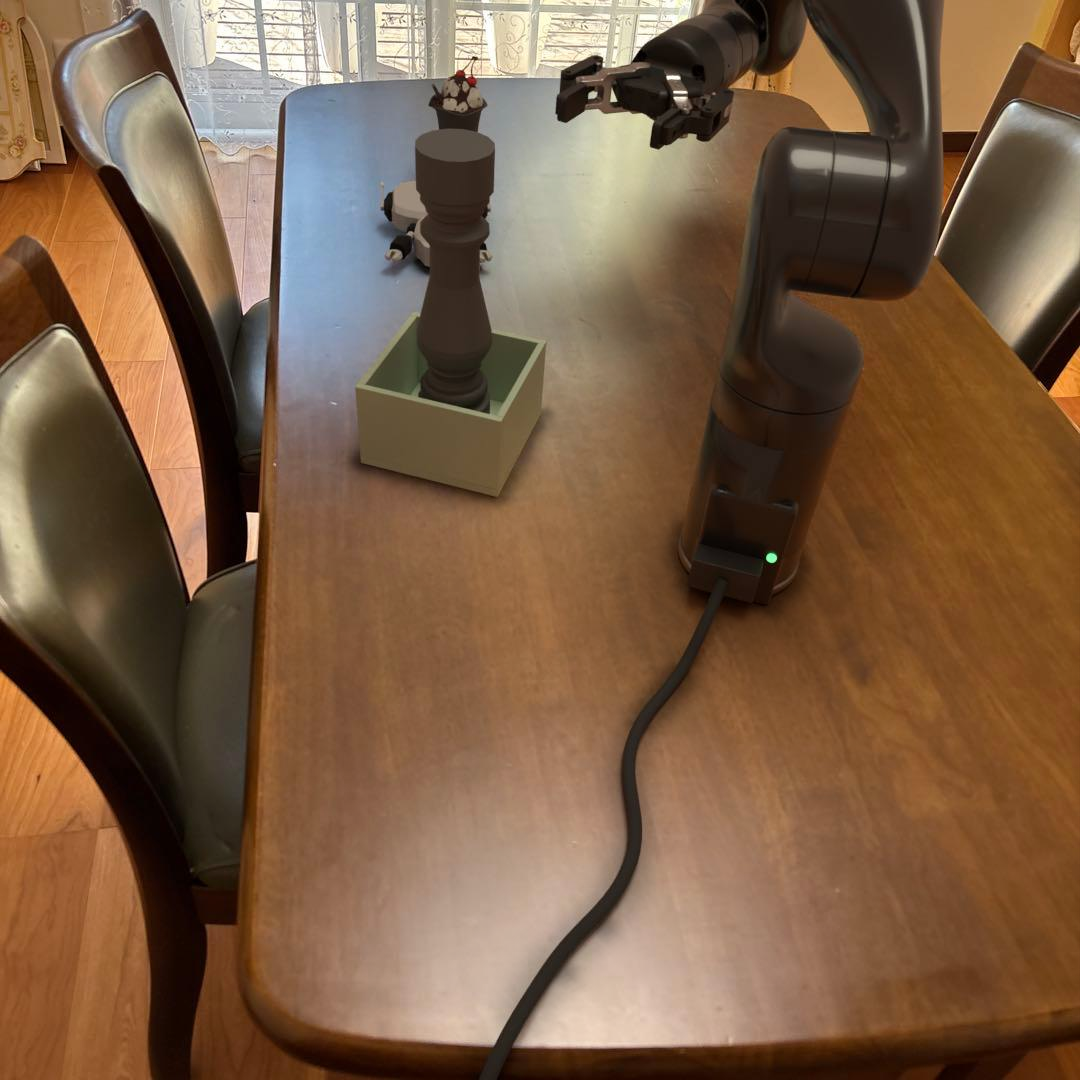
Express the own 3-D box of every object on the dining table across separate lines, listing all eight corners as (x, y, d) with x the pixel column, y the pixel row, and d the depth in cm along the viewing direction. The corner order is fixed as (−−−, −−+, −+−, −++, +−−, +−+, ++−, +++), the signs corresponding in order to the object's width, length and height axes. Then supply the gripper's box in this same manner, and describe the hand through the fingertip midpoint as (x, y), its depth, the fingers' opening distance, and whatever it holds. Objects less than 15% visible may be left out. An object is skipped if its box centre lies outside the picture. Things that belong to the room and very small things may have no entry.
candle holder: (503, 435, 89) (516, 151, 71) (443, 459, 86) (442, 170, 69) (463, 399, 92) (466, 120, 75) (404, 422, 89) (393, 137, 72)
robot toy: (496, 284, 110) (487, 210, 120) (497, 247, 107) (488, 175, 117) (381, 284, 109) (382, 209, 119) (379, 246, 106) (380, 173, 115)
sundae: (495, 184, 126) (500, 56, 116) (464, 202, 122) (465, 72, 112) (452, 169, 129) (452, 43, 118) (420, 187, 124) (417, 58, 114)
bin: (497, 497, 84) (501, 421, 79) (360, 463, 86) (354, 386, 81) (540, 414, 93) (546, 340, 87) (415, 384, 95) (413, 311, 89)
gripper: (622, 7, 93) (533, 54, 82) (770, 42, 88) (695, 97, 78) (613, 92, 98) (528, 146, 87) (752, 129, 93) (680, 191, 83)
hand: (607, 123), depth 83 cm, fingers open, 8 cm apart
